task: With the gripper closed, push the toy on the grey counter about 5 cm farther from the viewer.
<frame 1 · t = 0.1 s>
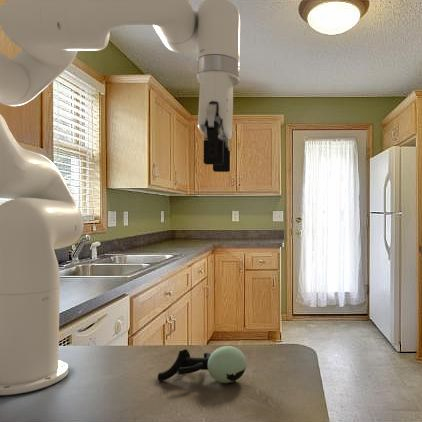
hand: (217, 168, 68), 37 cm above the counter, tool pointing down, fingers open, 9 cm apart
toy: (206, 379, 68), on the counter
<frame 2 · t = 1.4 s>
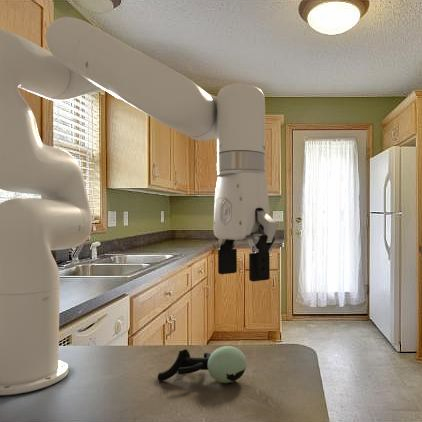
hand: (242, 276, 59), 19 cm above the counter, tool pointing down, fingers open, 9 cm apart
nothing on the counter moved.
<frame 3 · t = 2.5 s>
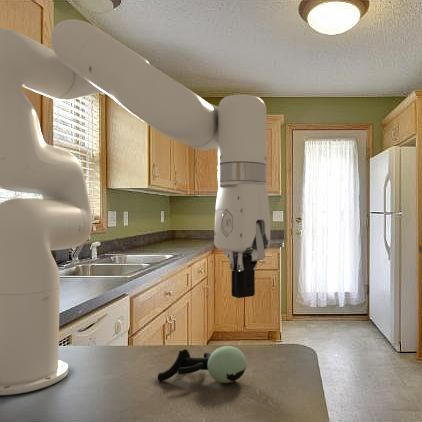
hand: (243, 296, 59), 16 cm above the counter, tool pointing down, fingers closed
nothing on the counter moved.
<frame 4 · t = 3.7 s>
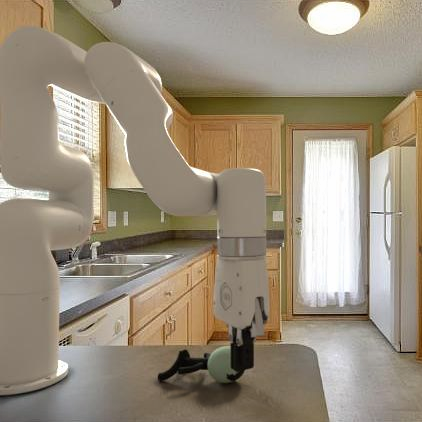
hand: (242, 368, 59), 5 cm above the counter, tool pointing down, fingers closed
nothing on the counter moved.
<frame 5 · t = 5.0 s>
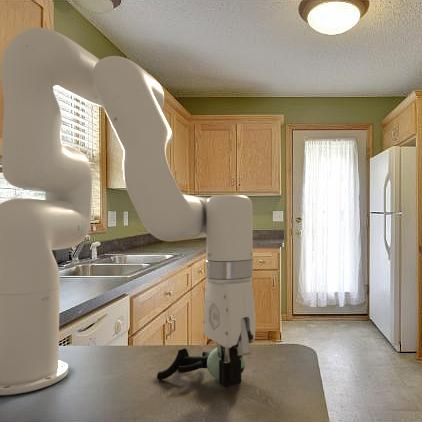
hand: (230, 383, 62), 1 cm above the counter, tool pointing down, fingers closed
toy: (205, 377, 68), on the counter, touching gripper
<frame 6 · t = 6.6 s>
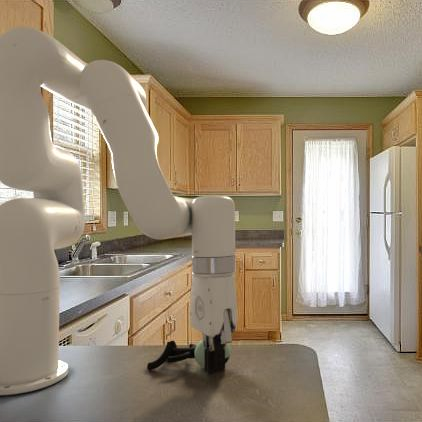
hand: (214, 370, 67), 2 cm above the counter, tool pointing down, fingers closed
toy: (192, 367, 73), on the counter, touching gripper
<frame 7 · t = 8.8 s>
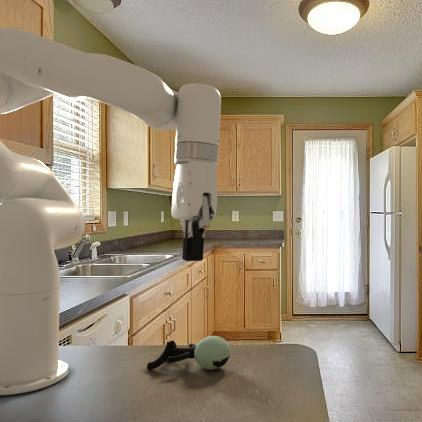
hand: (192, 260, 67), 21 cm above the counter, tool pointing down, fingers closed
toy: (192, 367, 73), on the counter
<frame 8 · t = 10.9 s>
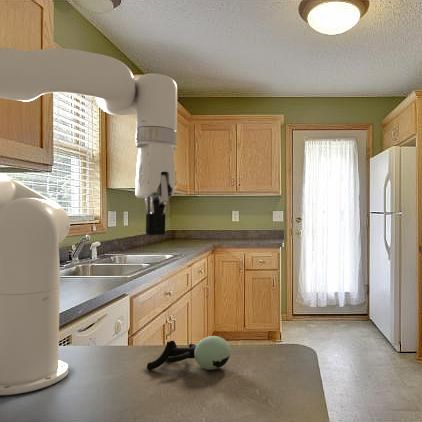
hand: (155, 234, 74), 25 cm above the counter, tool pointing down, fingers closed
nothing on the counter moved.
at the end: toy inside the target area (1.6 cm from its centre), on the counter; toy moved 6.6 cm from its start; toy tilted 0° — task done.
